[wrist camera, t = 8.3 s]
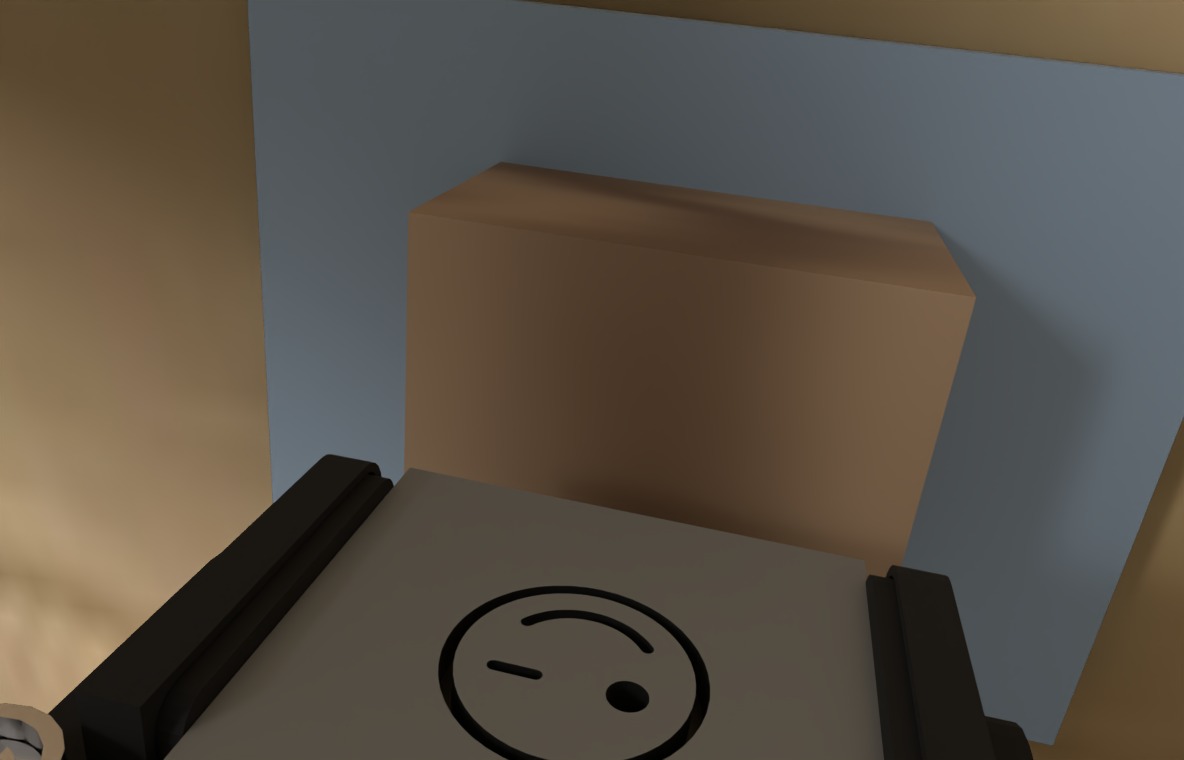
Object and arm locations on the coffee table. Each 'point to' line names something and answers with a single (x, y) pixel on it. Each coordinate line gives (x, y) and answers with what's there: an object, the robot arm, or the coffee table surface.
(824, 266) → the light brown plinth
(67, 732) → the robot arm
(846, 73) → the blue board
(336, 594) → the grey symbol cube
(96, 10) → the coffee table surface
